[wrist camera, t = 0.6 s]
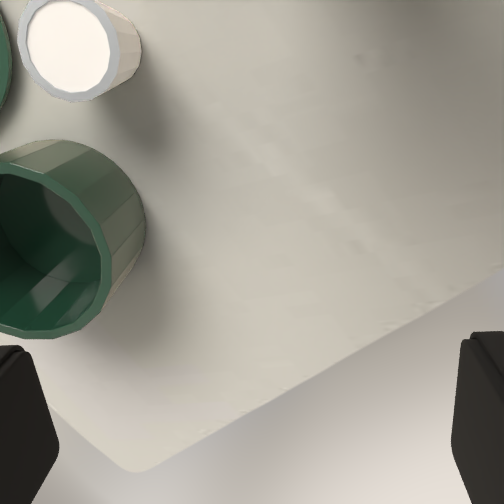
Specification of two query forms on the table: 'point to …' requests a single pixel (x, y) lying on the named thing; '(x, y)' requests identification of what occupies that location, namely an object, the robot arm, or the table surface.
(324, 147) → the table surface
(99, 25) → the white cup
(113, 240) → the pot
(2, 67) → the pot lid
